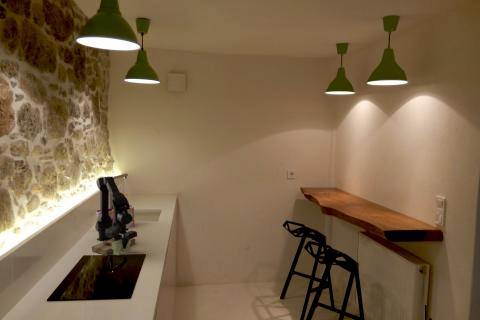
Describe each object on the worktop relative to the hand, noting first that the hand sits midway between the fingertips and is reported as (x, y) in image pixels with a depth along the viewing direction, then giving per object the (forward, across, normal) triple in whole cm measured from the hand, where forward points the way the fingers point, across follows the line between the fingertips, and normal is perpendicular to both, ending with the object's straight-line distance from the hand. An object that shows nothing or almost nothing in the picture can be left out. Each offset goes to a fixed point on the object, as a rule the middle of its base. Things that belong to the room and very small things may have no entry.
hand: (121, 248), depth 184 cm
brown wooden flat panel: (+4, -12, +5) cm, 13 cm away
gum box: (+4, -39, +30) cm, 49 cm away
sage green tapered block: (+2, 0, 0) cm, 2 cm away
